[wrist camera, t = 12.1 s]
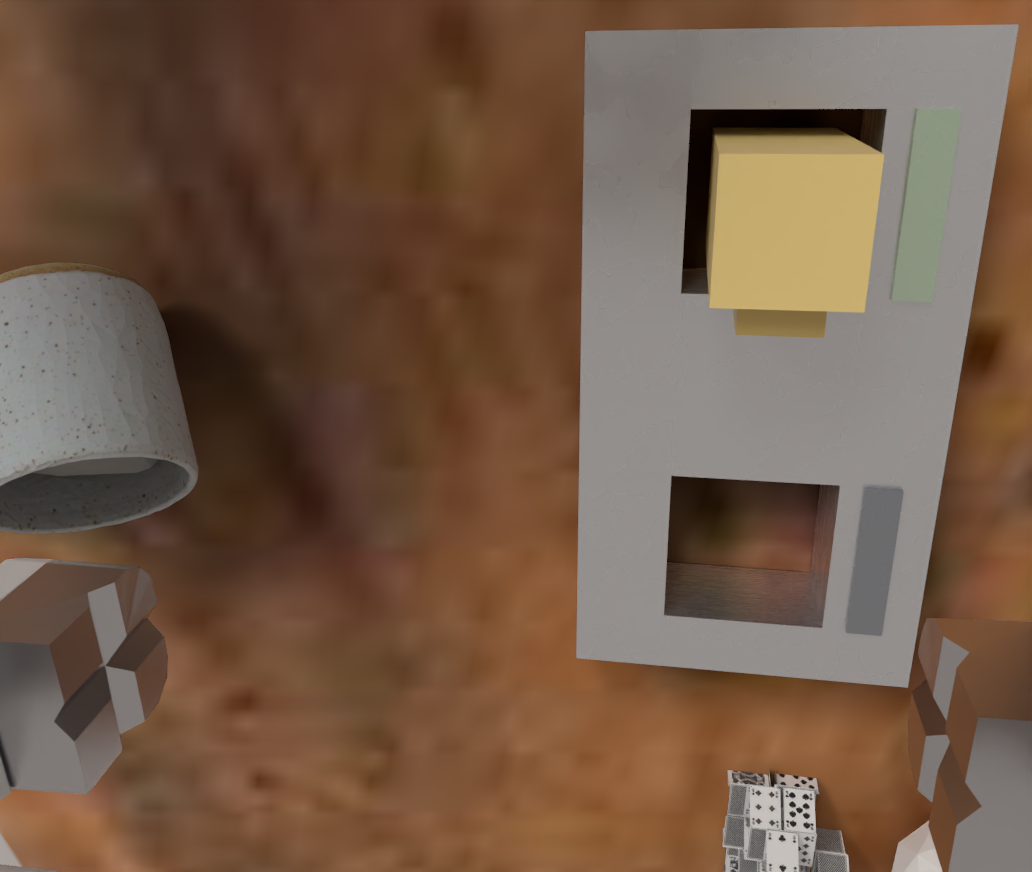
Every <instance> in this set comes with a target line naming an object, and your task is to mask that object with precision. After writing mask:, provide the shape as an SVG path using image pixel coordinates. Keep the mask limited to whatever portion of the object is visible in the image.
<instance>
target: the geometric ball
mask: <svg viewBox="0 0 1032 872" xmlns="http://www.w3.org/2000/svg"><path fill="white" fill-rule="evenodd" d="M928 825H929V821H927V822H926V823H925V824H923V825H922V826H921V827H919V828H918V829H916V830H915V831H914V832H912V833H911V834H910V835H908V836H907V837H906V838H904V839H903V840H902V841H900V842H899V843H898V846H897V851H896V855H895V859H894V863H893V868H892V872H943V871H942V868H941V865H940V862H939V859H938V856H937V852H936V849H935V846H934V843H933V840H932V836H931V833H930V830H929V827H928Z"/></svg>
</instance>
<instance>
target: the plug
mask: <svg viewBox="0 0 1032 872" xmlns="http://www.w3.org/2000/svg"><path fill="white" fill-rule="evenodd" d="M883 161H884V154H882V153H881V152H879V151H877V150H875V149H873V148H871V147H870V146H868V145H866V144H864V143H862V142H860V141H859V140H857V139H855V138H853V137H851V136H849V135H848V134H846V133H844V132H842V131H840V130H838V129H837V128H713V129H712V146H711V162H710V179H709V195H708V212H707V228H706V245H705V247H706V263H707V278H708V294H709V308H725V309H733V321H734V328H735V334H736V335H751V336H781V337H810V338H824V335H825V326H826V317H827V312H861V313H865V305H866V297H867V289H868V281H869V273H870V265H871V257H872V249H873V241H874V233H875V225H876V217H877V209H878V201H879V193H880V185H881V177H882V169H883Z"/></svg>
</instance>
